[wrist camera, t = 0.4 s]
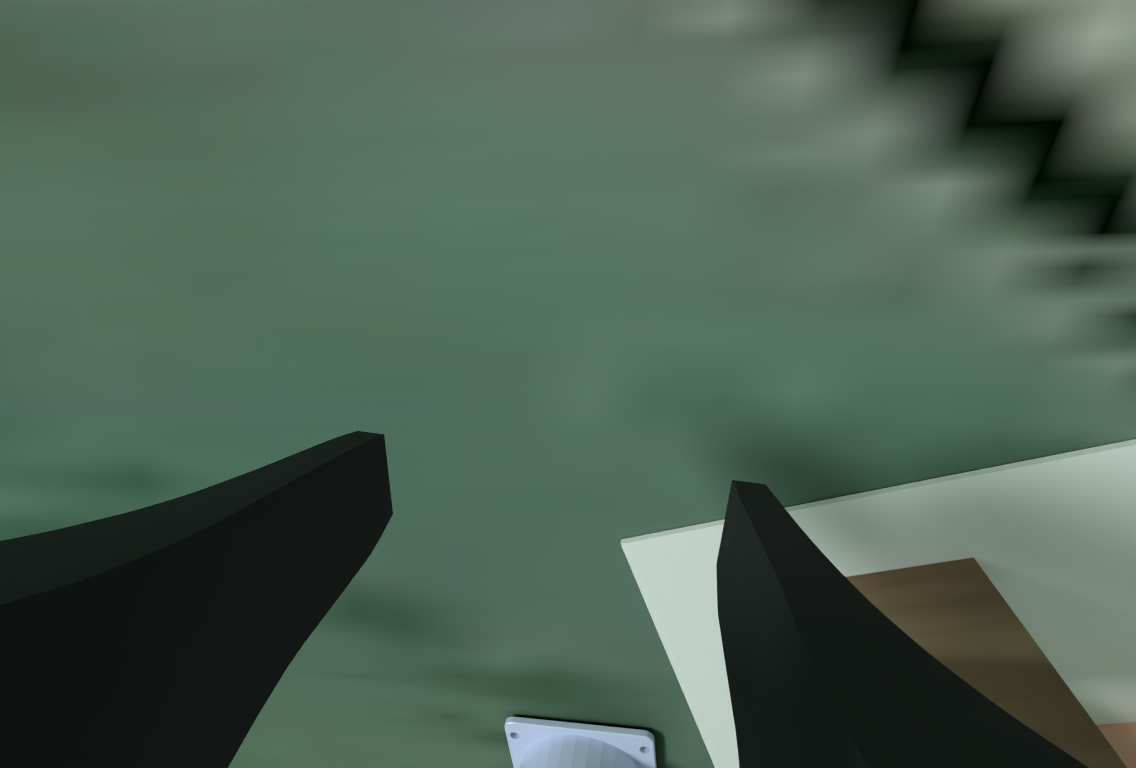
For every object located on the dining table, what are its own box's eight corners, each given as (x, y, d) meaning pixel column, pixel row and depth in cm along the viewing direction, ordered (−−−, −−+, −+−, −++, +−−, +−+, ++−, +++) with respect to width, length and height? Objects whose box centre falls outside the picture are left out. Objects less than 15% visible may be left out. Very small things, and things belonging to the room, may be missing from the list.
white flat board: (1233, 924, 26) (1239, 932, 25) (778, 913, 32) (779, 919, 32) (1244, 417, 17) (1253, 422, 17) (621, 539, 24) (620, 544, 23)
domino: (979, 589, 21) (1154, 843, 13) (846, 607, 22) (934, 845, 15) (973, 557, 20) (1151, 800, 13) (838, 577, 22) (925, 808, 14)
